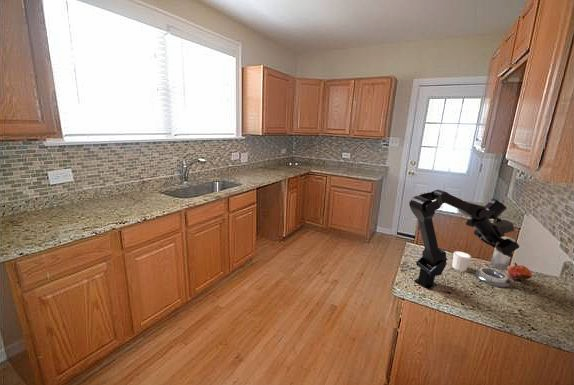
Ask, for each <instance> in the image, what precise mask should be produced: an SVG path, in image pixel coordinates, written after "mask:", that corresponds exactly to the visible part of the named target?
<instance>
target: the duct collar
mask: <svg viewBox="0 0 574 385" xmlns="http://www.w3.org/2000/svg"><path fill="white" fill-rule="evenodd" d="M474 275H475V277H476V279H478V280H479V281H481V282H482V283H484V284H487V285H490V286H493V287H497V288H504V289H505V288H509V287H510V285H511V281H510V280H509V277H508V275H507V274H506V273H504V272H503V271H502V270H499V269H496V268H493V267H487V266H486V267H485V266H482V267H480V268H479V269H477V270H476V271H475V273H474Z"/></svg>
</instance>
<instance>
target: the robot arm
mask: <svg viewBox="0 0 574 385" xmlns="http://www.w3.org/2000/svg"><path fill="white" fill-rule="evenodd" d="M443 204H445V205H449V206H451V207H453V208H455V209H457V210H458V211H459V212H460V213H461V214H462V215H464V216H466V217H469V218H467V220H466V222H465V225H466V226H468V227H471V228H473V227H474V228H475V230H474V231H473V235H474V236H475V237H476V238H477V239H479V240H480V241H482V242H483V243H485V244H487V245H489V246H491V247H492V248H493V249H495V245H496V243H499V244H498V245H497V246H496V250H497V251H499V252H500V253H502V254H503V255H506V256H508V257H510V258H512V257H513V252H515V251H517V249H519V248H520V245H519V243H518V242H517V241H516V240H515V241H513V240H512V239H513V238H512V239H505V240H504V239H503V238H501V237H503V236H505V237H506V235H505V234H508V233H510V232H511V233H512V232H515V226H514V223H513V222H511V221H509V220H507V219H501V218H500V217H499V216H501V215H502V214H504V212H505V211H506V210H507V208H508V207H507V206H506V205H505V204H503V203H502V202H500V201H499V200H498V199H495V198H492V199H490V200H489V201H488V203H487V204H486V205H485V206H484V205H481V204H478V203H474V202H472V201H468V200H463V199H461V198H459V197H457V196H455V195H453V194H450V193H449V192H447V191H444V190H442V189H435V190H432V191H431V192H425V193H421V194H419V195H415V196H412V198H411V199H410V201H409V205H408V206H409V208H410V210H411V212H412V214H413V216H415V217H416V219H417V221H418V225H419V230H420V234H421V238H422V243H423V246H424V248H423V251H422V254H421V256H420V257H419V258H418V259H416V261H415V264H416V266H417V267H418V268H420V269H419V273H418V278H416V279H414V282H415V283H416V284H418V285H420V286H422V287H424V288H425V289H426V290H430V289H432V288H434V287H436V286H438V283H436V282H435V280H436V279H435V278H436V277H437V276H441V275H442V273H443V272H444V270H445V268H446V266H447V261H448V258H447V253H446V251H444V250H443V249H441V248H440V247H439V244H438V240H437V235H436V231H435V225H434V221H433V217H434V215H435V214H436V211H437V210H439V209H440V208H442V206H443ZM491 220H492V221H491Z"/></svg>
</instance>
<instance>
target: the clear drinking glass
mask: <svg viewBox="0 0 574 385" xmlns="http://www.w3.org/2000/svg"><path fill="white" fill-rule="evenodd" d="M501 238H503V239H504V240H505V239H512V240H513V241H515V242H516V240H515V239H514V238H512V237H508V236H506V235H505V236H503V237H501ZM498 244H499V243H496V245H495V248H493V249H494V250H493V253H492V257H491V261H490V264H489V265H490V267H491V268H492V269H496V270H498V271H507V270H508V266H509V262H510V259H511V257H508V256H506V255H503V254H502V253H500V252H499V251H497V250H496V246H497V245H498Z"/></svg>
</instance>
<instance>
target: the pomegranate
mask: <svg viewBox="0 0 574 385" xmlns="http://www.w3.org/2000/svg"><path fill="white" fill-rule="evenodd" d="M513 264H514V265H513V266H511V267H509V270H508V273H507V274H508V276H509V277H510V278H511V279H512V280H519V281H521V282H522V285H523V286H525V284H524V281H526V280H528V279H531V278H532V277H533V276H532V275H533V274H532V272H531V270H530V269H529V268H528V267H526V266H525V265H521V264H520V265H518V264H517V263H516V262H514V263H513Z"/></svg>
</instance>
